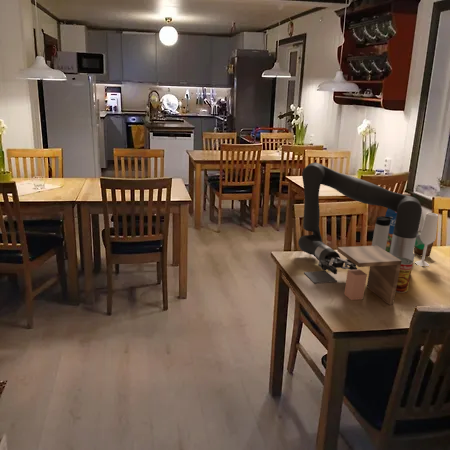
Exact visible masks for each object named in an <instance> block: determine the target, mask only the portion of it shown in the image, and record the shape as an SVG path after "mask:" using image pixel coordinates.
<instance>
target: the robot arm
mask: <svg viewBox="0 0 450 450" xmlns="http://www.w3.org/2000/svg"><path fill="white" fill-rule="evenodd" d="M301 174H302V175H301V176H302V183H303V193H304V194H303V197H304V202H303V203H304V204H303V206H304V207H303V220H302V221H303V222H302V223H303V224H302V225H303V229H304V231H307V232H311V233H312V234H307V235H305V234H304V235H302V236H300V237H299V239H298V242H297V244H298V247H299V248H300V250H301V251H303V252H304V253H307V254H309V255H312V256H313V257H315V258H316V259H317V261H318V267H320V269H321V270H322V271H326V272H327V271H328V272H330V273H331V274H334V275H337V274H338V269H343V270H356V269H358V268H357V265H355V264H354V263H353V262H351V261H350V260H349V259H347V258H346V259H343V258H342V257H341V255H340V253H339V252H338V251H337V250H334V249H333V248H331V247H330V246H328V245H327V244H325V243H324V242H323V239H322V234H321V229H320V217H321V216H320V215H321V213H320V210H321V209H320V201H319V200H320V199H319V198H320V189H321V186H322V185H323V186H326V187H329V188H331V189H334V190H335V191H337V192H339V193H341V194H342V195H343V196H345V197H347V198H348V199H351V200H354V201H355V202H359V203H362V204H366V205H371V206H377V207H383V208H386V209H388V208H389V209H391V210H393V211H395V212H397V216H396V222H395V226H394V231H393V237H392V242H391V248H390V254H391V255H393V256H395V257H404V258H408V259H410V260H412V261H413V262H414V260H415V257H416V256H415V255H416V254H415V253H414V246H415V241H416V236H417V232H418V231H419V228H420V223H421V218H422V213H423V209H422V205H421V202H420V200H419V199H418V198H416V197H414V196H411V195H406V194H402V193H398V192H395V191H392V190H389V189H387V188H384V187H382V186H380V185H377V184H374V183H373V182H369V181H367V180H365V179H361V178H360V177H359V178H358V177H355V176H352V175H348V174H345V173H341V172H338V171H336V170H334V169H331V168H329V167H327V166H325V165H323V164H321V163H319V162H312V163H309V164H308V165H306V166H305V167H304V169H303V170H302V173H301ZM413 265H414V264H413ZM413 265H412V267H413ZM412 271H413V270H411V272H412Z"/></svg>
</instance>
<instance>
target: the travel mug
mask: <svg viewBox="0 0 450 450" xmlns="http://www.w3.org/2000/svg"><path fill="white" fill-rule="evenodd" d="M391 219H392V218H391V217H386V216H385V215H384V216H383V215H381V216H377V217H376V218H375V224H374V231H373V235H372V237H373V238H372V242H371V246H378V247H380V248H382V249H383V250H386V244H387V239H388V233H389V227H390V221H391Z"/></svg>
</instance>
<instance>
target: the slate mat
mask: <svg viewBox="0 0 450 450" xmlns="http://www.w3.org/2000/svg"><path fill="white" fill-rule="evenodd" d="M303 274H304V275H305V277H307V278H308V279H309V280H310V281H312V283H313V284H324V283H337V281H338V280H337V279H336V278H335V277H334V276H332V275H331V274H330V273H329V272H327V270H326V271H324V270H317V271H304V272H303Z"/></svg>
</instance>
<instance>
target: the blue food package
mask: <svg viewBox="0 0 450 450" xmlns="http://www.w3.org/2000/svg"><path fill="white" fill-rule="evenodd" d="M384 216H386V217H391V218H392V219H391V221H390V227H389V233H388V239H387V244H386V250H385V251H387V252H388V253H390V248H391V242H392V237H393V231H394V226H395V222H396V216H397V212H395V211H393V210H391V209H389V208H386V212H385V215H384Z"/></svg>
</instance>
